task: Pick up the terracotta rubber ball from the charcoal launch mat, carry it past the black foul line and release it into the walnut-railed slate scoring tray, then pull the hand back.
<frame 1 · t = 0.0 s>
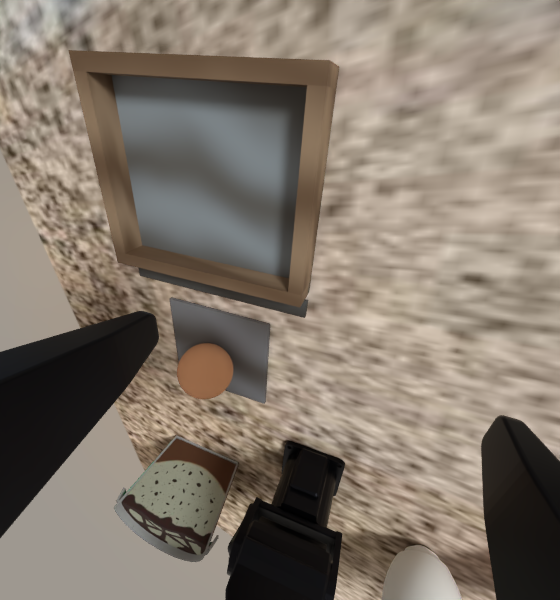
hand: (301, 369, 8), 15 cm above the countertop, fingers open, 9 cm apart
sauce bottle: (421, 547, 36), on the countertop
ball: (205, 370, 29), point 3 cm above the countertop, touching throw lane
food container: (207, 459, 43), on the countertop
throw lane: (216, 270, 26), on the countertop
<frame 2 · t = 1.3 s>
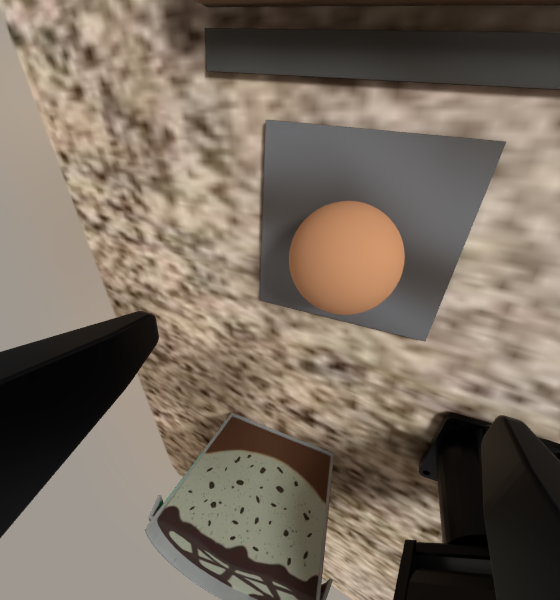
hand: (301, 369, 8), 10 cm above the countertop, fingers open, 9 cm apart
ball: (344, 259, 14), point 3 cm above the countertop, touching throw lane
food container: (277, 450, 28), on the countertop
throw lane: (400, 5, 11), on the countertop
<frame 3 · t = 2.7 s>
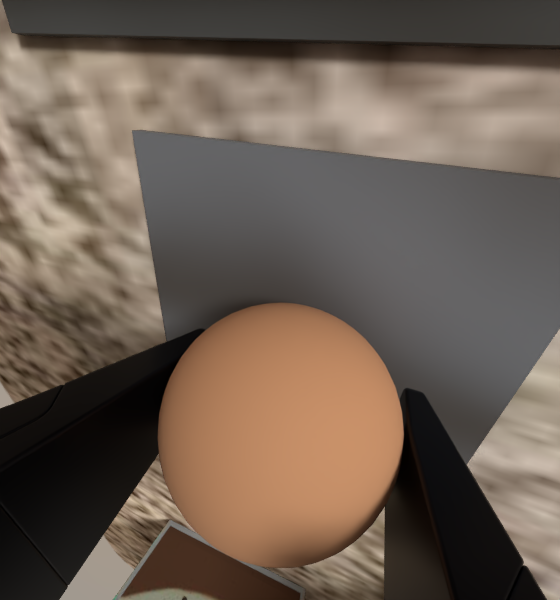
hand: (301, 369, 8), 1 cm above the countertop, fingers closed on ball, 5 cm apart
ball: (280, 417, 7), point 3 cm above the countertop, touching gripper, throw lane
food container: (233, 566, 21), on the countertop
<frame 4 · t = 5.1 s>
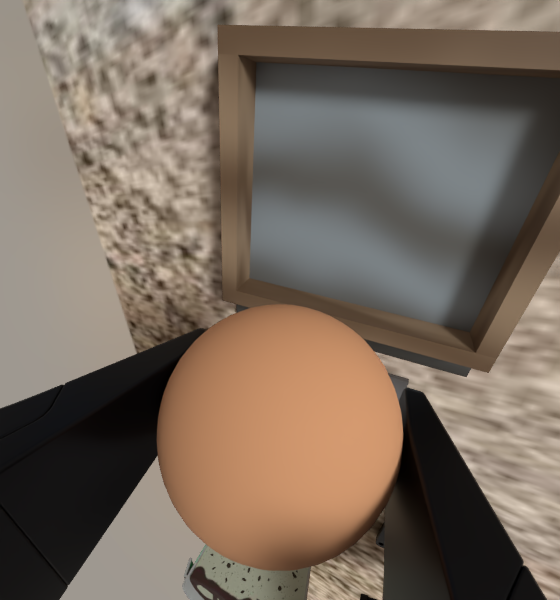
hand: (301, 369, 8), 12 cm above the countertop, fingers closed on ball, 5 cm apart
ball: (280, 418, 7), point 14 cm above the countertop, touching gripper
food container: (274, 514, 37), on the countertop
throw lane: (347, 312, 21), on the countertop
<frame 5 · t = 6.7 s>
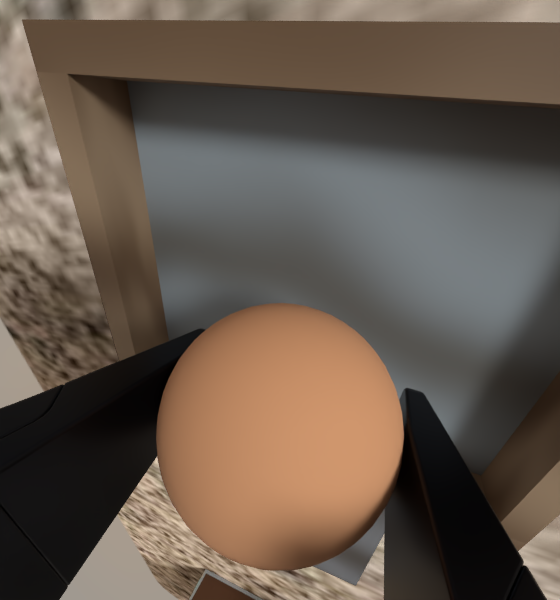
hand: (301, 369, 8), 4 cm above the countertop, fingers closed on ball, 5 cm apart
ball: (280, 418, 7), point 5 cm above the countertop, touching gripper
food container: (247, 598, 32), on the countertop
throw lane: (308, 424, 15), on the countertop
when the fingers open (2 cm above the countertop, at t = 7.8 s): ball drops 1 cm, resting on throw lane.
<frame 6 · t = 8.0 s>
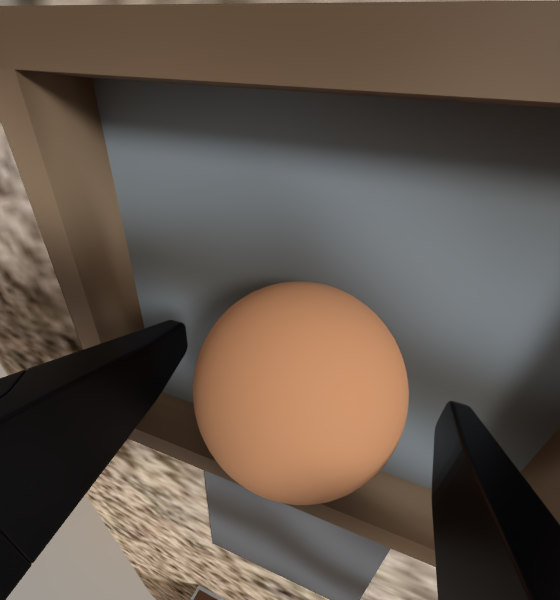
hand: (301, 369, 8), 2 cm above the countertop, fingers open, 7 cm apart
ball: (298, 383, 8), point 3 cm above the countertop, touching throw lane
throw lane: (300, 447, 14), on the countertop
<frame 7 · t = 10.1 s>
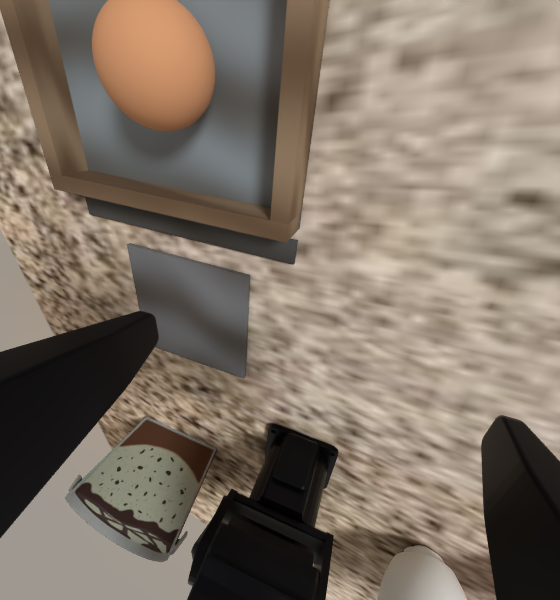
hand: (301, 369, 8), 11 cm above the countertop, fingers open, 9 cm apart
sauce bottle: (423, 548, 31), on the countertop
ball: (157, 67, 14), point 3 cm above the countertop, tilted 32°, touching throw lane
food container: (182, 445, 38), on the countertop
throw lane: (182, 203, 20), on the countertop
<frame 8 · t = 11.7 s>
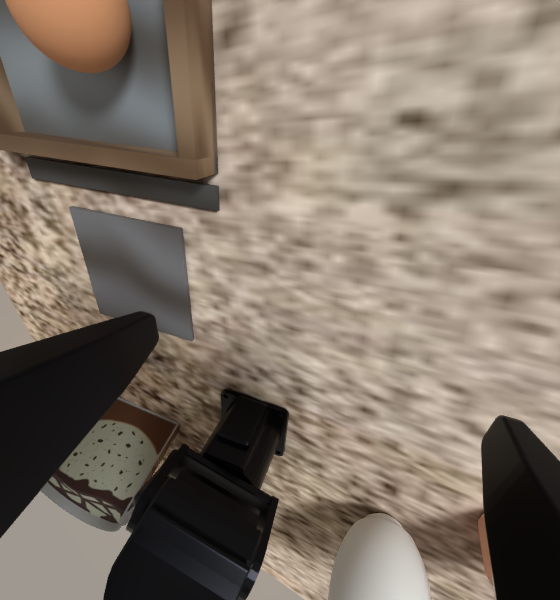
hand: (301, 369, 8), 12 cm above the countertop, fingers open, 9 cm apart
sauce bottle: (384, 516, 31), on the countertop
ball: (71, 6, 14), point 3 cm above the countertop, tilted 54°, touching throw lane
food container: (148, 423, 38), on the countertop
pepper shaker: (529, 531, 25), on the countertop
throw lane: (112, 158, 21), on the countertop
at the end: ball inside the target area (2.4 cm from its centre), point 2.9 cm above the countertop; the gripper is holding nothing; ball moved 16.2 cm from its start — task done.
